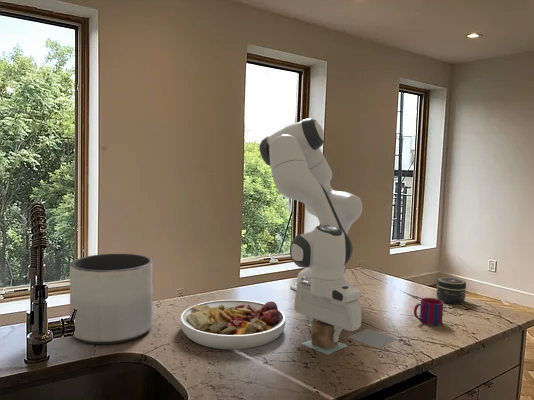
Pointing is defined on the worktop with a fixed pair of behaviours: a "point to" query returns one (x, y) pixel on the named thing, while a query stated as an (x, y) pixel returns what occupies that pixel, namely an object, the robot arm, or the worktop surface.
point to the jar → (451, 290)
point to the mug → (430, 311)
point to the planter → (111, 297)
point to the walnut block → (322, 335)
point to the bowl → (232, 323)
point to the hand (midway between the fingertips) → (324, 337)
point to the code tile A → (328, 351)
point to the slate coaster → (372, 338)
